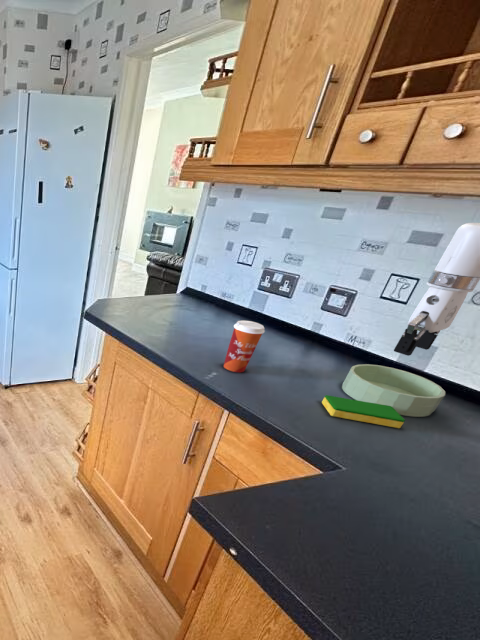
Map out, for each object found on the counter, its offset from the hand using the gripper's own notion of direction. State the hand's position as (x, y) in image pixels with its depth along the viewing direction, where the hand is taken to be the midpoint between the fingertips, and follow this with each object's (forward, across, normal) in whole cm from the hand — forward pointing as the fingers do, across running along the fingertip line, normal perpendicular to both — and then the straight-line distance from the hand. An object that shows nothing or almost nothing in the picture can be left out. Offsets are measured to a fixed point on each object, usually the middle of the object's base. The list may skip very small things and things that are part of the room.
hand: (411, 350), depth 102 cm
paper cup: (+15, -19, +28) cm, 37 cm away
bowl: (+15, +3, 0) cm, 15 cm away
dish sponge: (+15, -14, -2) cm, 21 cm away
